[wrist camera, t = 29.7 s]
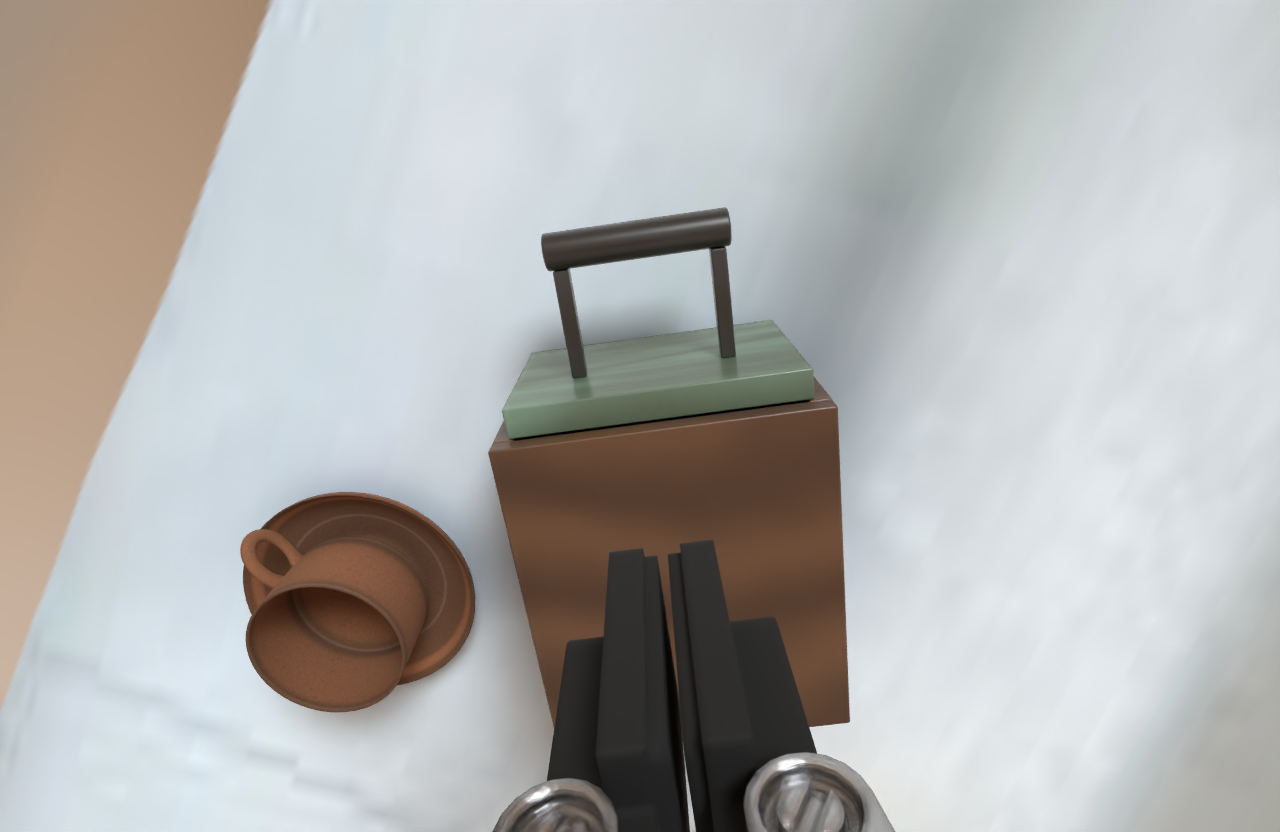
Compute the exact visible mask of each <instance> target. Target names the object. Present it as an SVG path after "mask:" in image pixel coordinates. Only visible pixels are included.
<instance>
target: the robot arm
mask: <svg viewBox="0 0 1280 832" xmlns="http://www.w3.org/2000/svg"><path fill="white" fill-rule="evenodd" d="M680 550H681V552H680V553H672V554H668V565H669V578H670V590H671V603H672V615H673V628H674V640H675V652H676V665H677V677H678V688H677V681H676V674H675V668H674V661H673V655H672V648H671V641H670V635H669V628H668V622H667V615H666V608H665V602H664V595H663V589H662V582H661V575H660V569H659V562H658V557H657V555H656V556H648V557H645V554H644V550H643V548H639V549H630V550H622V551H614V552H610V553H609V562H608V577H607V592H606V607H605V622H604V637H595V638H587V639H578V640H570V641H569V642H568V643H567V646H566V650H565V657H564V664H563V671H562V678H561V686H560V693H559V700H558V707H557V714H556V721H555V728H554V735H553V742H552V749H551V756H550V763H549V770H548V777H547V782H544V783H542V784H539V785H537V786H534V787H532V788H530V789H529V790H527V791H526V792H525V793H523V794H522V795H520V796H519V797H517V798H516V799H515V800H514V801H513V802H512V803H511V804H510V805H509V806H508V808H507V809H506V810H505V811H504V812H503V813H502V815H501V816H500V818H499V820H498V822H497V824H496V826H495V828H494V830H493V832H690V828H689V815H688V803H687V790H686V778H685V765H684V754H685V761H686V768H687V775H688V781H689V788H690V794H691V801H692V807H693V814H694V820H695V827H696V832H895V831H894V829H893V827H892V825H891V823H890V822H889V820H888V818H887V816H886V814H885V813H884V811H883V809H882V807H881V805H880V804H879V802H878V800H877V798H876V796H875V795H874V793H873V791H872V790H871V788H870V787H869V786H868V784H867V783H866V782H865V781H864V779H863V778H862V777H861V775H859V774H858V773H857V772H855V771H854V770H853V769H851V768H850V767H849V766H847V765H846V764H845V763H843V762H841V761H838V760H836V759H833V758H831V757H829V756H826V755H821V754H817V752H816V748H815V745H814V742H813V738H812V735H811V732H810V729H809V725H808V722H807V719H806V715H805V712H804V709H803V705H802V702H801V699H800V696H799V692H798V689H797V686H796V682H795V679H794V676H793V672H792V669H791V666H790V663H789V659H788V656H787V653H786V649H785V646H784V643H783V640H782V636H781V633H780V630H779V626H778V623H777V621H776V618H775V617H774V616H772V617H764V618H755V619H747V620H739V621H730V620H729V616H728V611H727V606H726V601H725V596H724V591H723V586H722V581H721V576H720V571H719V566H718V561H717V556H716V551H715V546H714V541H713V539H711V540H703V541H695V542H687V543H680ZM678 690H679V696H678ZM679 702H680V704H679ZM681 727H682V728H681ZM682 737H683V740H682ZM683 746H684V753H683Z"/></svg>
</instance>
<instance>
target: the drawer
mask: <svg viewBox="0 0 1280 832" xmlns="http://www.w3.org/2000/svg"><path fill="white" fill-rule="evenodd" d="M730 244H731V223H730V217H729V212H728V210H727V208H717V209H711V210H704V211H697V212H690V213H683V214H676V215H669V216H662V217H655V218H649V219H642V220H635V221H628V222H621V223H614V224H607V225H600V226H594V227H587V228H580V229H573V230H566V231H559V232H552V233H545V234H543V235H542V237H541V246H542V253H543V258H544V263H545V266H546V268H547V270H548V271H554V272H553V276H554V281H555V287H556V292H557V297H558V303H559V308H560V314H561V319H562V325H563V330H564V336H565V341H566V346H567V348H564V349H557V350H550V351H543V352H535V353H532V354H531V356H530V358H529V360H528V362H527V364H526V366H525V368H524V369H523V371H522V373H521V375H520V377H519V379H518V381H517V383H516V385H515V387H514V389H513V390H512V392H511V394H510V396H509V398H508V400H507V402H506V404H505V406H504V408H503V410H502V413H503V418H504V422H505V426H506V431H507V435H508V438H509V439H515V438H522V437H530V436H537V435H545V437H549V436H556V435H564V434H571V433H579V432H586V431H594V430H602V429H609V428H617V427H624V426H632V425H639V424H647V423H655V422H662V421H670V420H677V419H685V418H692V417H700V416H708V415H715V414H723V413H730V412H738V411H745V410H753V409H761V408H768V407H776V406H780V405H779V403H787V402H795V401H802V400H810V399H814V381H813V369H812V367H811V366H810V365H809V364H808V362H807V361H806V360H805V359H804V358H803V356H802V355H801V354H800V353H799V352H798V350H797V349H796V348H795V347H794V346H793V344H792V343H791V342H790V341H789V340H788V338H787V337H786V336H785V335H784V334H783V332H782V331H781V330H780V329H779V328H778V326H777V325H776V324H775V323H774V322H773V320H768V321H761V322H753V323H746V324H739V325H733V317H732V306H731V295H730V284H729V273H728V263H727V252H726V248H725V247H724V246H729V245H730ZM703 249H709V253H710V263H711V273H712V283H713V293H714V303H715V312H716V322H717V328H710V329H702V330H695V331H688V332H681V333H673V334H666V335H659V336H652V337H644V338H637V339H630V340H622V341H615V342H608V343H601V344H593V345H586V346H583V342H582V337H581V331H580V325H579V319H578V314H577V308H576V302H575V297H574V291H573V285H572V279H571V274H570V268H577V267H584V266H591V265H598V264H605V263H612V262H619V261H626V260H633V259H640V258H647V257H654V256H661V255H668V254H675V253H682V252H689V251H696V250H703Z"/></svg>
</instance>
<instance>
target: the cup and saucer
mask: <svg viewBox="0 0 1280 832" xmlns="http://www.w3.org/2000/svg"><path fill="white" fill-rule="evenodd" d="M241 558H242V561H243V563H244V570H243V585H244V592H245V597H246V601H247V604H248V606H249V609H250V612H251V614H252V616H251V618H250V620H249V623H248V626H247V631H246V647H247V652H248V655H249V658H250V660H251V663H252V665H253V667H254V668H255V670H256V671H257V673H258V674H259V676H260V677H261V678H262V679H263V680H264V681H265V683H266V684H267V685H269V686H270V687H271V688H272V689H273V690H274V691H276V692H277V693H278V694H280V695H281V696H283V697H285V698H286V699H288V700H290V701H292V702H294V703H296V704H299V705H301V706H304V707H307V708H311V709H314V710H319V711H326V712H349V711H355V710H360V709H363V708H366V707H369V706H371V705H373V704H375V703H377V702H379V701H381V700H382V699H384V698H385V697H386V696H387V695H388V694H390V693H391V692H392V690H393V689H394V688H395V687H396V685H402V684H406V683H410V682H413V681H416V680H419V679H421V678H423V677H426V676H428V675H430V674H432V673H433V672H435V671H437V670H438V669H440V668H441V667H443V666H444V665H445V664H446V663H447V662H449V661H450V660H451V659H452V658H453V657H454V656H455V655H456V653H457V652H458V651H459V650H460V648H461V647H462V645H463V644H464V642H465V640H466V638H467V637H468V634H469V632H470V629H471V626H472V622H473V618H474V611H475V593H474V585H473V581H472V577H471V574H470V571H469V568H468V566H467V563H466V561H465V559H464V557H463V556H462V554H461V552H460V551H459V549H458V548H457V546H456V545H455V544H454V542H453V541H452V540H451V539H450V538H449V536H448V535H447V534H446V533H445V532H444V531H443V530H442V529H441V528H440V527H439V526H437V525H436V524H435V523H434V522H432V521H431V520H430V519H429V518H427V517H426V516H424V515H422V514H421V513H419V512H418V511H416V510H414V509H412V508H410V507H408V506H406V505H404V504H402V503H399V502H397V501H394V500H391V499H388V498H385V497H381V496H377V495H372V494H366V493H356V492H338V493H328V494H323V495H317V496H314V497H310V498H307V499H305V500H302V501H300V502H297V503H295V504H293V505H291V506H289V507H287V508H285V509H284V510H282V511H281V512H279V513H278V514H276V515H275V516H274V517H272V518H271V519H270V520H269V521H268V522H267V523H266V524H265V525H264V526H263V527H262V528H261V529H260V530H255V531H253V532H251V533H249V534H248V535H247V536H246V537H245V538H244V539H243V541H242V544H241Z"/></svg>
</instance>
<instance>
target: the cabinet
mask: <svg viewBox="0 0 1280 832" xmlns="http://www.w3.org/2000/svg"><path fill="white" fill-rule="evenodd" d="M813 381H814V399H810V400H802V401H795V402H787V403H779V405H780V406H776V407H768V408H761V409H753V410H745V411H738V412H730V413H723V414H715V415H708V416H700V417H692V418H685V419H677V420H670V421H662V422H655V423H647V424H639V425H632V426H624V427H617V428H609V429H602V430H594V431H586V432H579V433H571V434H564V435H556V436H549V437H545V435H537V436H530V437H522V438H515V439H509V438H508V435H507V431H506V426H505V422H503V424H502V426H501V428H500V430H499V432H498V434H497V436H496V438H495V440H494V442H493V444H492V446H491V448H490V450H489V452H488V454H489V458H490V462H491V466H492V470H493V475H494V479H495V483H496V487H497V491H498V495H499V500H500V504H501V508H502V512H503V516H504V520H505V525H506V529H507V533H508V537H509V541H510V546H511V550H512V554H513V558H514V562H515V566H516V571H517V575H518V579H519V583H520V587H521V592H522V596H523V600H524V604H525V608H526V612H527V617H528V621H529V625H530V629H531V633H532V638H533V642H534V646H535V650H536V654H537V658H538V663H539V667H540V671H541V675H542V679H543V684H544V688H545V692H546V696H547V700H548V704H549V709H550V713H551V717H552V721H553V725H554V728H555V721H556V714H557V707H558V700H559V693H560V686H561V678H562V671H563V664H564V657H565V650H566V646H567V643H568V642H569V641H570V640H578V639H587V638H595V637H604V622H605V607H606V592H607V577H608V562H609V553H610V552H614V551H622V550H630V549H639V548H643V550H644V554H645V557H648V556H656V555H657V557H658V562H659V569H660V575H661V582H662V589H663V595H664V602H665V608H666V615H667V622H668V628H669V635H670V641H671V648H672V655H673V661H674V668H675V674H676V681H677V688H678V677H677V665H676V652H675V640H674V628H673V615H672V603H671V590H670V578H669V565H668V554H672V553H680V552H681V550H680V543H687V542H695V541H703V540H711V539H713V541H714V546H715V551H716V556H717V561H718V566H719V571H720V576H721V581H722V586H723V591H724V596H725V601H726V606H727V611H728V616H729V620H730V621H739V620H747V619H755V618H764V617H772V616H774V617H775V618H776V621H777V623H778V626H779V630H780V633H781V636H782V640H783V643H784V646H785V649H786V653H787V656H788V659H789V663H790V666H791V669H792V672H793V676H794V679H795V682H796V686H797V689H798V692H799V696H800V699H801V702H802V705H803V709H804V712H805V715H806V719H807V722H808V725H809V727H814V726H823V725H832V724H841V723H849V722H850V713H849V687H848V661H847V636H846V610H845V584H844V558H843V532H842V507H841V481H840V455H839V429H838V407H837V405H836V404H835V403H834V401H833V400H832V399H831V397H830V396H829V395H828V394H827V392H826V391H825V390H824V389H823V387H822V386H821V385H820V384H819V382H818V381H817V380H816V379H815V377H814V376H813ZM678 696H679V690H678ZM679 704H680V702H679ZM681 728H682V727H681ZM682 740H683V737H682Z"/></svg>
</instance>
